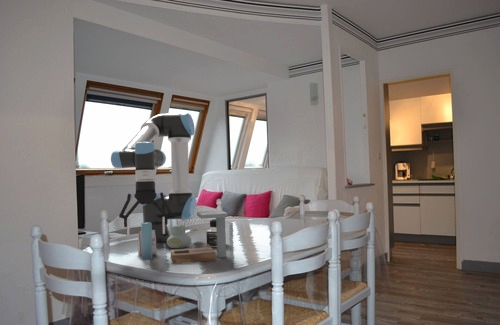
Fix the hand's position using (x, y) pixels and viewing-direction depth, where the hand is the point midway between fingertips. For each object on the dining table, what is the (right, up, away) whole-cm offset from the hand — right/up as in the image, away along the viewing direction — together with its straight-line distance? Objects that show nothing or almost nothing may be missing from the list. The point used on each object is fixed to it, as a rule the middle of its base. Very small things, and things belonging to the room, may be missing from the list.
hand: (146, 234), depth 156 cm
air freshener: (+9, -10, +22) cm, 26 cm away
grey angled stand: (+27, -9, -1) cm, 28 cm away
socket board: (+19, -9, -3) cm, 21 cm away
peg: (0, -10, 0) cm, 10 cm away
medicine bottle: (+26, -10, +24) cm, 37 cm away
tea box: (-2, -10, +9) cm, 14 cm away
